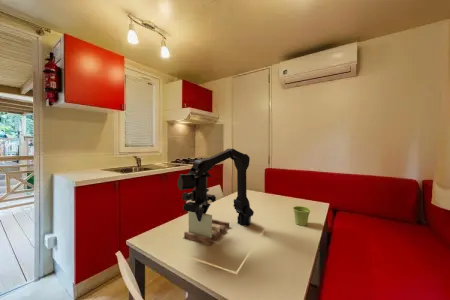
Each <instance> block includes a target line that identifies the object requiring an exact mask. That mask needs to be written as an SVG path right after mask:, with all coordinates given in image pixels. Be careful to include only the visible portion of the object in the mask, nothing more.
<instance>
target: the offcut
mask: <svg viewBox="0 0 450 300" xmlns="http://www.w3.org/2000/svg"><path fill="white" fill-rule="evenodd" d="M212 230H213V231H217V232H219V234H220V226H218V225H214V224H212Z"/></svg>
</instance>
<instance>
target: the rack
mask: <svg viewBox="0 0 450 300" xmlns="http://www.w3.org/2000/svg"><path fill="white" fill-rule="evenodd" d="M212 224H214V225H218V226H220V234H219V232H217V231H213V230H212V237H211V238H208V237H204V236H201V235H197V234H193V233H190V232H189V231H184V234H183V237H182V239H184V240H187V241H190V242H195V243H196V244H197V243H198V244H200V245H204V246H208V247H211V246H212V245H213V244H215V243H216V242H217V241H218V240H219V239H220V238H221V237H222V236H223V235H224V234H225V233H227V231H228V230H230V229H231V227H230V222H227V221H222V220H218V219H214V218H212Z"/></svg>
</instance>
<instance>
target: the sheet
mask: <svg viewBox="0 0 450 300" xmlns="http://www.w3.org/2000/svg"><path fill="white" fill-rule="evenodd" d="M212 219H213V214H208V213H206V214H204V213H203V215H202V219H201V221H200V222H199V221H198V219H197V216H196V213H195V212H189V211H188V232H190V233H193V234H197V235H201V236H204V237H208V238H211V237H212Z"/></svg>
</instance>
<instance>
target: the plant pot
mask: <svg viewBox="0 0 450 300" xmlns="http://www.w3.org/2000/svg"><path fill="white" fill-rule="evenodd" d="M292 210H293V212H294V213H293V214H294V220H295V221H294V222H295V225H298V226H301V227H305V226H307V225H308V220H309V215H310V212H311V211H312V210H311V209H310V208H309V207H306V206H303V205H302V206H300V205H299V206H298V205H296V206H292Z"/></svg>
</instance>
